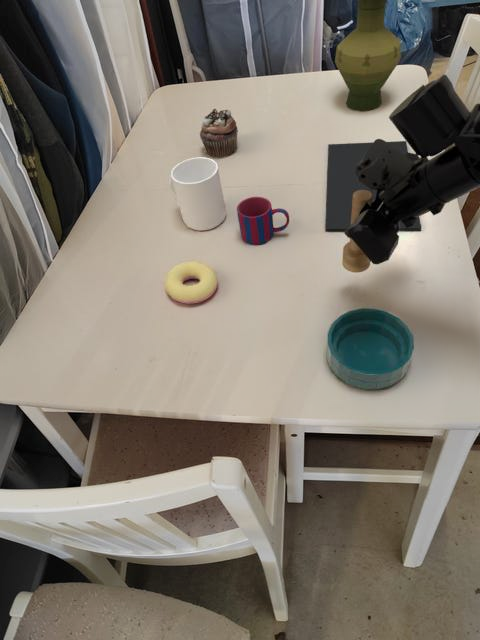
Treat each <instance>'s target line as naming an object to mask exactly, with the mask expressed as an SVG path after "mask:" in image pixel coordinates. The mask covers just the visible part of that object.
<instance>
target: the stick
mask: <svg viewBox="0 0 480 640" xmlns="http://www.w3.org/2000/svg"><path fill="white" fill-rule="evenodd" d="M371 200H372V194H371V192H369V191H367V190H358V191H356V192H354V194H353V200H352V214H351V225H352V223H353V222H354V220H355V219H356V218H357V217H358V216H359V212H360V211H361V209H362V208H363V207H364V205H365V204H366V202H367V203H368V204H369V205H370V206H371ZM341 263H342V267H343V268H344V269H345V270H346V271H348V272H350V273H356V274H357V273H363V272H365V271H367V270H368V269H369V268H370V266H371V261H370V260H369V259H368V257H367V256H366V255H365V254H364V253H363V251H362V250H361V249H360V248H359V247H358V246H357V244H356V243H355V242H354V241H353V240H352V239H351V238H349V241H348V242H347V243H346V244H344V245H343V248H342V261H341Z"/></svg>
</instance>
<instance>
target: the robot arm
mask: <svg viewBox="0 0 480 640" xmlns="http://www.w3.org/2000/svg"><path fill="white" fill-rule="evenodd" d="M388 119H389V120H390V122H391V123H392V124H393V125H394V127H395V128H396V129H397V131H398V132H399V134H400V135H401V136H402V137H403V138H404V141H406V143H407V145H409V147H410V148H411V149H412V151H413V152H414V153H413V152H408V153H406V154H404V153H402V152H401V151H399V150H398V149H396V148H395V147H393V146H392V145H390V144H389V143H387V142H388V141H386V140H384V139H382V138H376V139H375V140H374V141H373V144H372V145H371V146H370V147H369V149H368V150H367V151H366V153H365V154H364V156H363V158H362V159H361V161H360V162H359V164H358V166H357V167H356V169H355V174H356V175H357V176H358V180H359V182H361V183H362V184H364V185H365V186H367V187H368V188H370V189H371V190H377V193H376V198H375V199H374V200H373V201H372V202H371V206H370V205H369V204H368V203H367V202H366V204H365V205H364V207H363V208H362V209H361V211H360V212H359V216H358V217H357V218H356V219H355V220H354V222H353V223H352V225H351V226H350V228H349V229H347V230H346V231H345V232H344V235H345V236H346V237H347V239H350V238H351V239H352V240H353V241H354V242H355V243H356V244H357V246H358V247H359V248H360V249H361V250H362V251H363V253H364V254H365V255H366V256H367V257H368V259H369V260H370V263H372V264H373V265H380V264H383V263H385V262H387V261H389V260H390V258H391V257H392V256H393V254H394V252H395V250H396V248H397V247H398V245H399V240H400V235H399V232H400V231H399V230H400V226H399V222H400V221H402V223H403V224H404V225H405V226H406V228H408V227H411V226H413V225H414V223H415V221H416V220H417V218H418V217H419V218H420V217H422V216H423V215H425V214H428V213H429V212H430V213H431V214H432V216H435V215H438V214H440V213H442V211H443V209H444V207H445V205H446V204H448V203H450V202H452V201H454V200H456V199H459V198H460V197H462V196H465V195H466V194H468V193H470V192H473V191H475V190H477V189H479V188H480V103H476V104H474V106H473V108H472V109H471V111H470V110H469V108H468V107H467V106H466V105H465V103H464V102H463V100H462V99H461V97H460V96H459V95H458V93H457V92H456V89H455V87H454V85H453V82H452V81H451V79H450V78H449V77H448V75H447V74H442V75H441V76H440V77H439V78H436V80H435V79H433V80H432V81H430V82H428V83H427V84H425V85H424V84H422V85H421V86H420V87H418V88H417V89H416V90H415V91H413V92H412V93H411V94H410V95H408V96H407V97H406V98H405V99H404V100H403V101H402V102H401V103H399V105H398V106H397V107H396V108H395V109H394V110H393V111H392V112H391V113H390V114H389V116H388ZM428 157H432V158H430V159H429V158H428ZM392 221H393V222H392Z"/></svg>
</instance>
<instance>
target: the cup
mask: <svg viewBox="0 0 480 640" xmlns="http://www.w3.org/2000/svg"><path fill="white" fill-rule="evenodd" d="M272 206H273V205H272V203H271V201H270V199H268V198H265V197H264V196H263V197H262V196H251V197H247V198H245V199H243V200H241V201H240V202H239V203H238V204H237V206H236V213H237V219H238V225H239V232H240V238H241V240H242V241H243V242H244V243H245V244H247V245H250V246H260V245H264V244H267V243H268V242H269V241H271V240H272V239H273V237H274V236H275V235H274V234H275V233H279V232H282V231H284V230H285V229H287V227H288V226H289V223H290V215H289V212H288V211H287V210H286V209H284V208H281V207H280V208H273V207H272ZM278 213H281V214H284V216H285V219H286V222H285V223H284V224H283V225H281V226H279V227H274V216H273V215H275V214H278Z"/></svg>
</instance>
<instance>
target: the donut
mask: <svg viewBox="0 0 480 640" xmlns="http://www.w3.org/2000/svg"><path fill="white" fill-rule="evenodd" d="M190 279H195V280H198V281H199V282H198V283H195V284H193V285H186V284H184V282H185V281H187V280H190ZM218 283H219V279H218V275H217V273H216V271H215V270H214V268H212V267H211V266H210V265H208V264H207V263H204V262H201V261H194V260H193V261H185V262H181V263H179V264H176V265H175V266H173V268H171V269H170V270H169V272H168V273H167V275H166V277H165V280H164V287H165V290H166V292H167V294H168V295H169V297H170V298H172V299H173V300H174V301H177V302H179V303H182V304H189V305H190V304H191V305H192V304H197V303H202V302H204V301H205V300H207V299H209V298H211V296H212V295H213V294H215V291H216V290H217V288H218Z"/></svg>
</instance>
